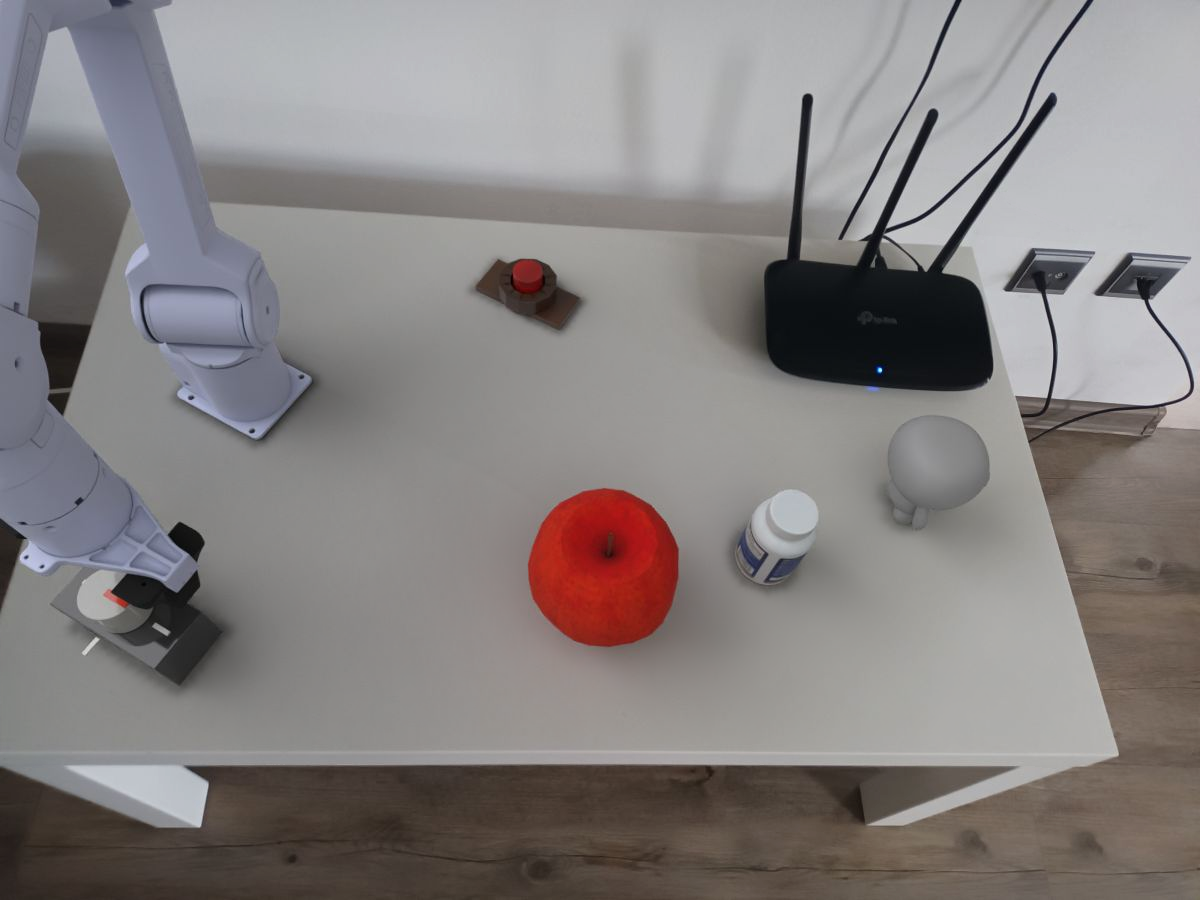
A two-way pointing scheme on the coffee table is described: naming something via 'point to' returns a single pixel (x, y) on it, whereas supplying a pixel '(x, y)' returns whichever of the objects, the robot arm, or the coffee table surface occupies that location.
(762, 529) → the pill bottle
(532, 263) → the button
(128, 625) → the hob knob
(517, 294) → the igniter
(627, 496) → the apple
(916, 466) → the figurine
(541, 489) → the coffee table surface
